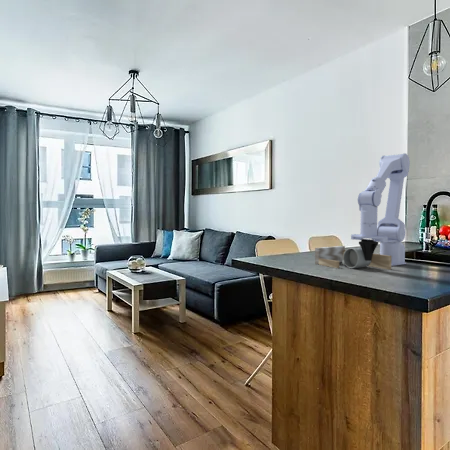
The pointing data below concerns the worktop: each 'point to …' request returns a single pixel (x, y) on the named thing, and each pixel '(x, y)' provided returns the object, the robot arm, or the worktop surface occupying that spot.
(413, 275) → the worktop surface
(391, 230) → the robot arm
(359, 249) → the ceramic mug
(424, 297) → the worktop surface
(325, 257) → the brown wooden pieces
